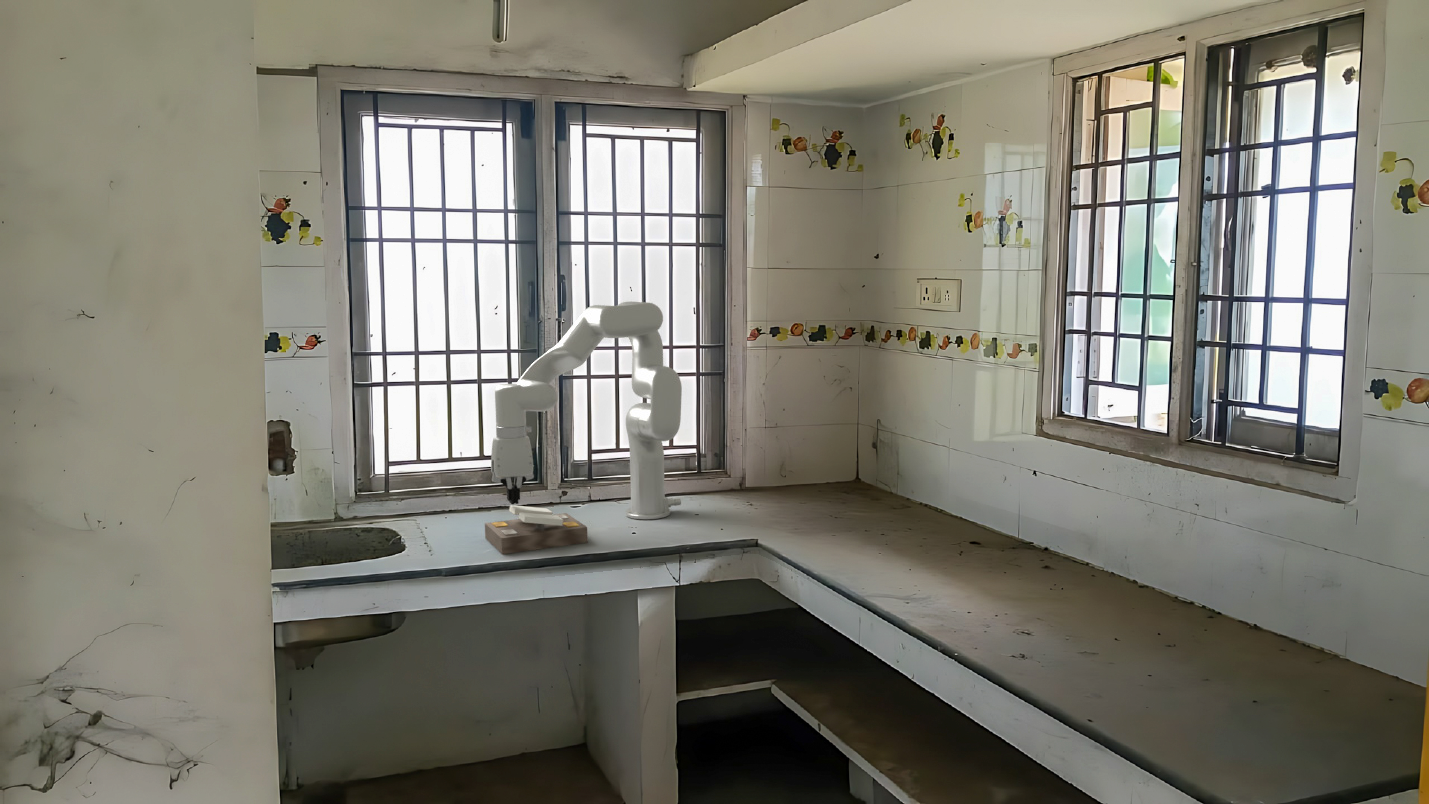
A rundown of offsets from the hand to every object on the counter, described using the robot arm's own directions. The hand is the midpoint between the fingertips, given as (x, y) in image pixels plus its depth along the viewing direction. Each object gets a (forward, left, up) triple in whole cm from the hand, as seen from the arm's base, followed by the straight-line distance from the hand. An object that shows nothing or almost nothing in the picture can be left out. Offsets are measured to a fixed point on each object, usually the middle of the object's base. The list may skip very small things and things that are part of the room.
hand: (513, 502), depth 267 cm
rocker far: (-4, 0, -4) cm, 6 cm away
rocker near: (-4, +9, -4) cm, 11 cm away
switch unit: (-4, +4, -9) cm, 11 cm away
